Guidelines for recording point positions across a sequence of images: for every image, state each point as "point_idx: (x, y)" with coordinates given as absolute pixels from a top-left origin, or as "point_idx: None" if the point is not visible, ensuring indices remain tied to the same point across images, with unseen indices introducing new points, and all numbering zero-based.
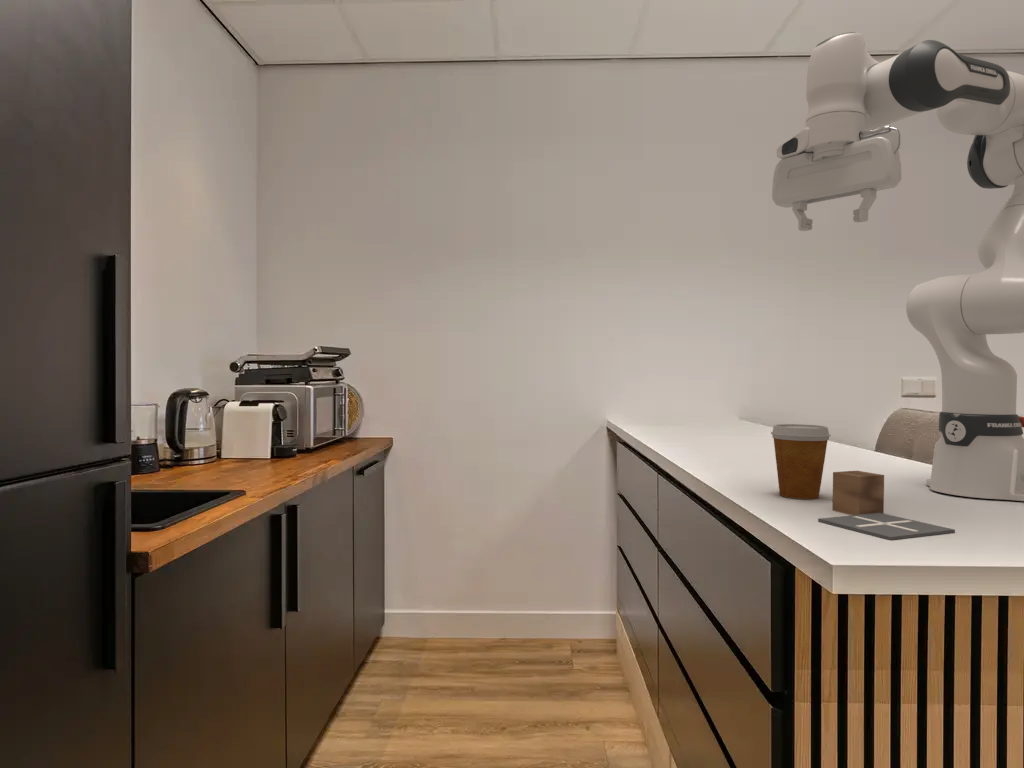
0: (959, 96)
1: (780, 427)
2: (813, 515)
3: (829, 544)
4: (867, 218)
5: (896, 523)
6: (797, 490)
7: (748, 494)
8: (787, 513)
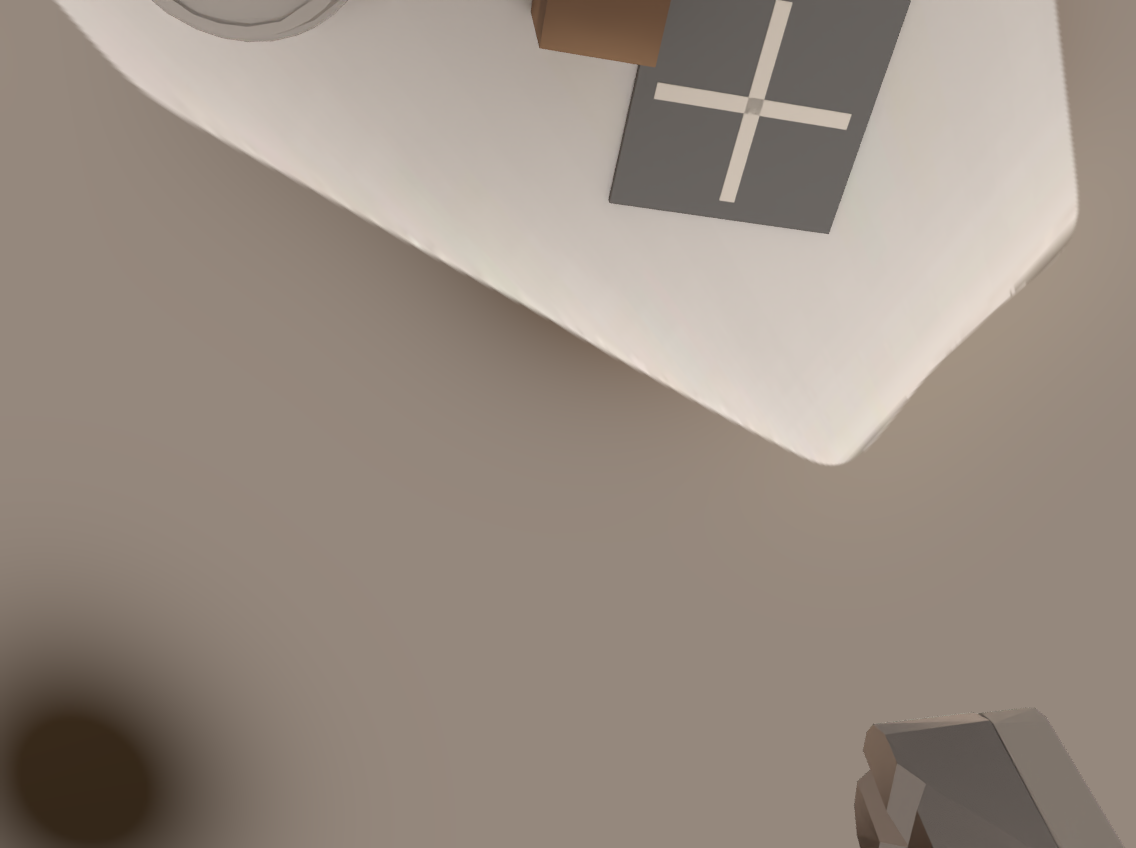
0: None
1: (225, 34)
2: (549, 137)
3: (756, 370)
4: (1047, 739)
5: (772, 69)
6: None
7: None
8: (490, 179)
